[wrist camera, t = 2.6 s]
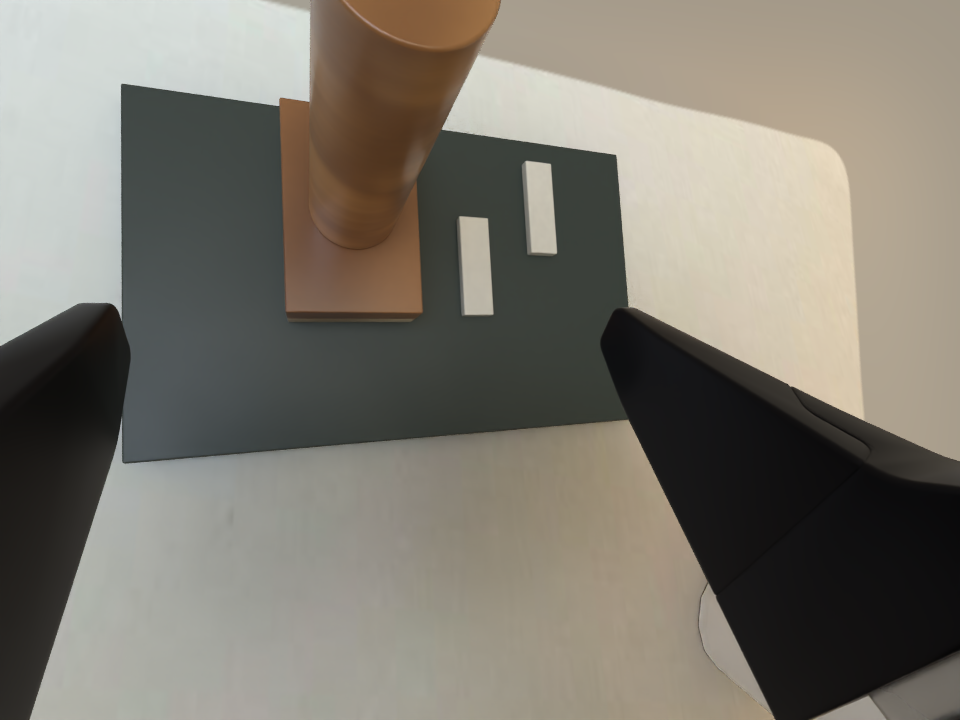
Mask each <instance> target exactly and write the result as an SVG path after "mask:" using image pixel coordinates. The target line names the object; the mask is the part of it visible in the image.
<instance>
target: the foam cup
mask: <svg viewBox="0 0 960 720" xmlns="http://www.w3.org/2000/svg"><path fill="white" fill-rule="evenodd" d="M698 625H699V630H700V634H701V638H702V642H703V647H704V650H705V652H706V653H707V654H708V656H709V657H710V658H711V660H712V661H713V662H714V664H715V665H716V666H717V668H718V669H720V670H721V671H723V672H724V673H725V674H726V676H727V677H728V678H730V679H731V680H732V681H733V682H734V683H735V684H737V685H738V686H739V687H740V688H741V689H743V690H744V691H745V692H746V693H747V694H748V695H750V696H751V697H752V698H753V699H754V700H755V701H757V702H758V703H759V704H760V705H761V706H763V707H764V708H765V709H766V710H767V711H768V712H770V713H771V714H772V712H771V710H770V708H769V706H768V704H767V702H766V700H765V698H764V696H763V694H762V692H761V690H760V688H759V686H758V684H757V682H756V680H755V678H754V675H753V673H752V671H751V669H750V667H749V665H748V663H747V661H746V659H745V657H744V655H743V653H742V651H741V649H740V647H739V645H738V643H737V641H736V639H735V637H734V635H733V633H732V631H731V628H730V626H729V624H728V622H727V620H726V618H725V616H724V614H723V612H722V610H721V608H720V606H719V604H718V602H717V600H716V595H714V593H713V591H712V589H711V587H710V585H709V583H708V585H707V587H706V589H705V591H704V593H703V595H702V597H701V605H700V615H699V624H698ZM772 715H773V714H772ZM813 720H886V718H885V717H884V716H883V714H882V713H881V712H880V710H879V709H878V708H877V706H876V705H875V704H874V702H873V701H872V700H871V698H870V697H869V696H867V697H865V698H862V699H860V700H858V701H855V702H853V703H851V704H848V705H846V706H844V707H841V708H839V709H837V710H834V711H832V712H830V713H827V714H825V715H823V716H820V717H818V718H816V719H813Z"/></svg>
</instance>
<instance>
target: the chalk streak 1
mask: <svg viewBox="0 0 960 720" xmlns="http://www.w3.org/2000/svg"><path fill="white" fill-rule="evenodd" d="M456 222H457V240H458V258H459V277H460V295H461V313H462V316H463V317H490V316H492V315H493V297H492V280H491V263H490V246H489V230H488V219H487V218H476V217H464V216H459V217H458V219H457V220H456Z"/></svg>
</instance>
